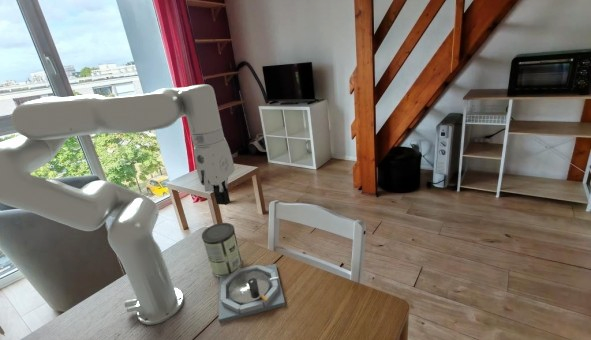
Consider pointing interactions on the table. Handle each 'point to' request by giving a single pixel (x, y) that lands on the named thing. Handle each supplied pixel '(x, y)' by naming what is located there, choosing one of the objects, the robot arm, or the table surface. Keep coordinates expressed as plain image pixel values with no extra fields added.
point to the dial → (249, 287)
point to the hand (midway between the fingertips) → (223, 202)
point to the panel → (269, 301)
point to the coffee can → (222, 249)
